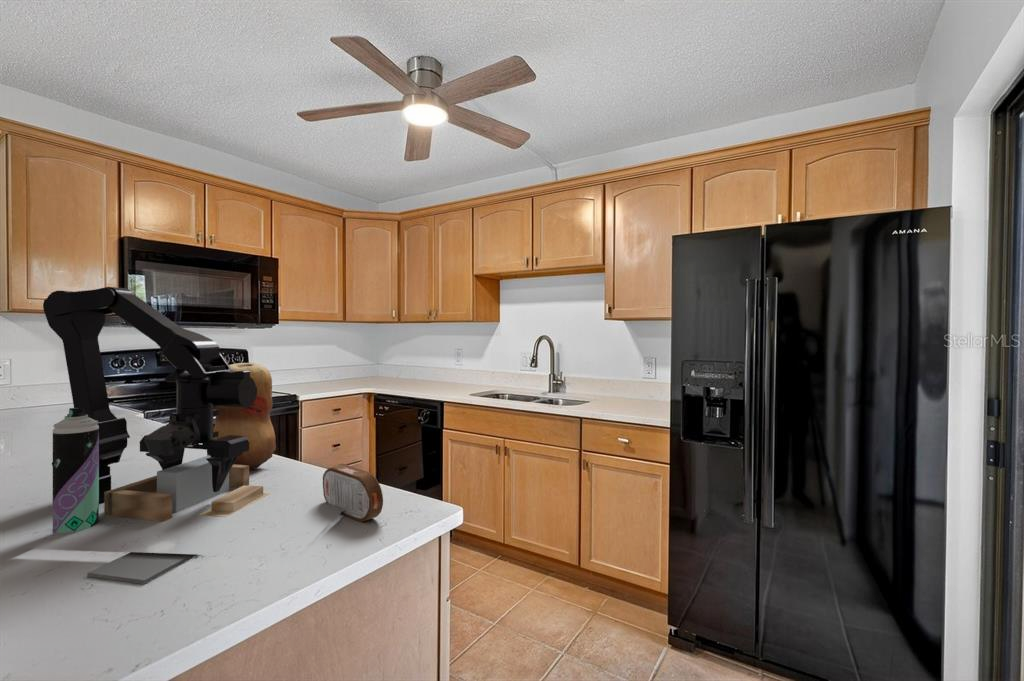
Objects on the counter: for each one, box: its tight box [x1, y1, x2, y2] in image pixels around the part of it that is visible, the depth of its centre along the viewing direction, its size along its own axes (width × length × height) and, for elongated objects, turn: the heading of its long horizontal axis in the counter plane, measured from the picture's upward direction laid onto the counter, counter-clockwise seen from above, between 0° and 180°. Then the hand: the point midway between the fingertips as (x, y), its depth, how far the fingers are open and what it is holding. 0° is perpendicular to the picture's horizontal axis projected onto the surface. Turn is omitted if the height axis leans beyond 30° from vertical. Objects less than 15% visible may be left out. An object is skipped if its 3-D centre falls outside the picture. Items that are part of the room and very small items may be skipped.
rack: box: [103, 464, 250, 523], centre depth 90 cm, size 12×20×5 cm, turn 169°
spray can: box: [52, 407, 100, 535], centre depth 77 cm, size 6×6×20 cm
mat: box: [86, 551, 198, 585], centre depth 71 cm, size 9×17×1 cm, turn 169°
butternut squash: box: [206, 362, 277, 471], centre depth 111 cm, size 14×13×25 cm
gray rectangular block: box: [156, 455, 230, 513], centre depth 90 cm, size 4×12×8 cm, turn 169°
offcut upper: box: [211, 485, 264, 513], centre depth 89 cm, size 4×9×2 cm, turn 177°
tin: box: [322, 463, 384, 523], centre depth 87 cm, size 15×3×8 cm, turn 53°
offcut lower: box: [198, 492, 271, 518], centre depth 88 cm, size 5×12×2 cm, turn 172°
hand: (194, 489), depth 90 cm, fingers open, 9 cm apart
